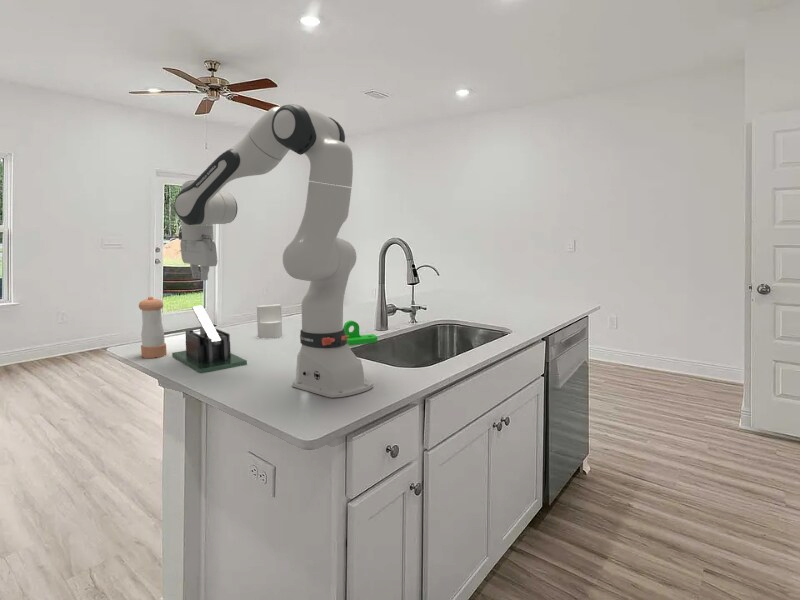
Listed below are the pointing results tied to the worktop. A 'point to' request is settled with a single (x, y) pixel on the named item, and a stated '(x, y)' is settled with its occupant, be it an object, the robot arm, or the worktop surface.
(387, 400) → the worktop surface
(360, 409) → the worktop surface
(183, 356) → the cooling board
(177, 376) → the worktop surface
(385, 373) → the worktop surface
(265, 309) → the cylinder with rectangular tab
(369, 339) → the mechanical part
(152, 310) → the pepper shaker
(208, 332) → the steel strap
